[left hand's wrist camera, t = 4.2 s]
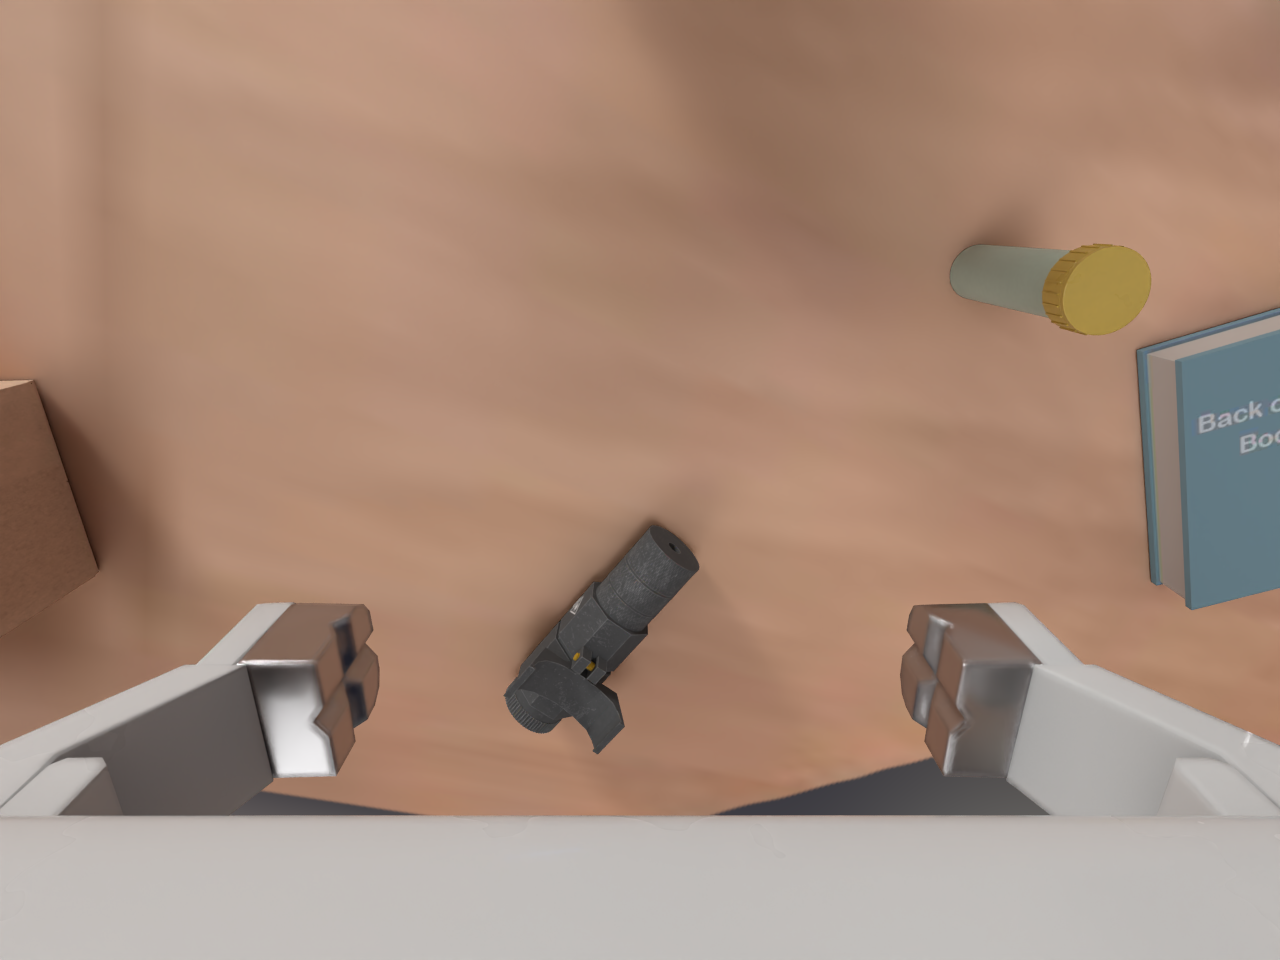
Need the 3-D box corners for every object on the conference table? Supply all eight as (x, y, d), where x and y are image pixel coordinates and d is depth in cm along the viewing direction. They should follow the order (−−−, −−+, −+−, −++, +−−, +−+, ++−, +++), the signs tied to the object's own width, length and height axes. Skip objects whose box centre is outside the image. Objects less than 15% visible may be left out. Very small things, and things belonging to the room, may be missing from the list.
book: (1136, 350, 57) (1181, 361, 52) (1344, 288, 55) (1410, 295, 50) (1151, 581, 64) (1191, 610, 59) (1334, 534, 62) (1390, 559, 58)
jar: (938, 273, 55) (1050, 293, 40) (980, 232, 53) (1112, 237, 39) (971, 310, 56) (1092, 342, 41) (1013, 270, 54) (1153, 288, 40)
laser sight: (713, 562, 63) (726, 621, 54) (569, 717, 70) (558, 794, 60) (630, 501, 61) (629, 552, 52) (489, 667, 67) (465, 739, 58)
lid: (1023, 291, 41) (1043, 295, 39) (1094, 224, 40) (1119, 224, 38) (1072, 347, 43) (1095, 354, 41) (1143, 285, 41) (1170, 288, 39)
